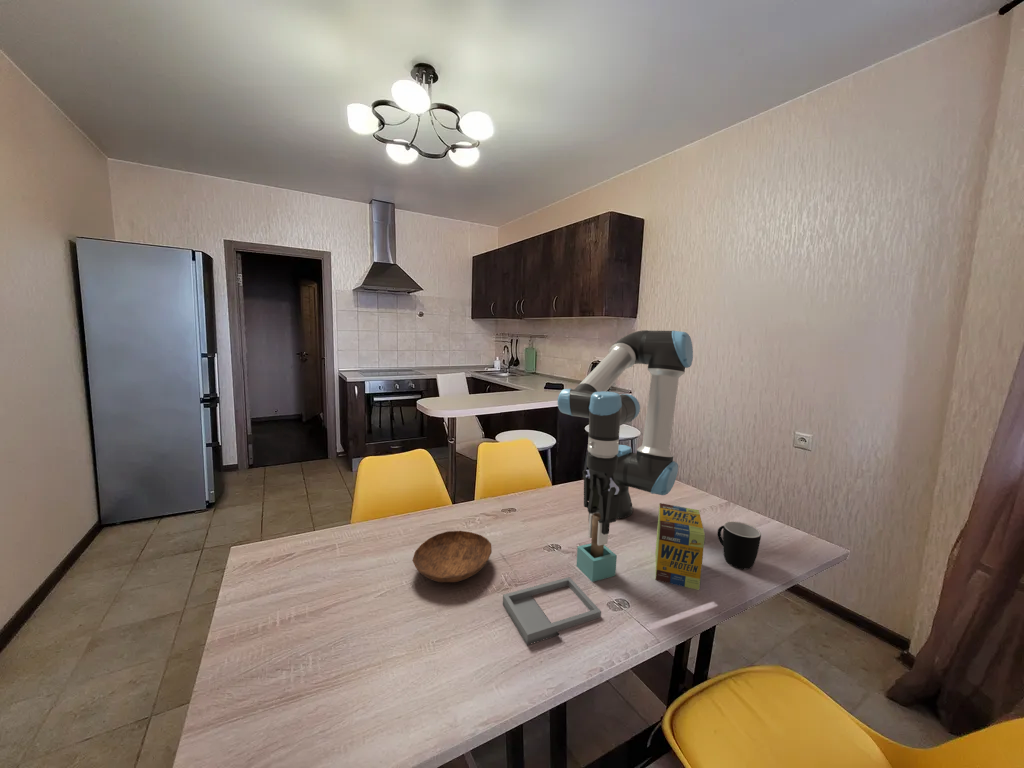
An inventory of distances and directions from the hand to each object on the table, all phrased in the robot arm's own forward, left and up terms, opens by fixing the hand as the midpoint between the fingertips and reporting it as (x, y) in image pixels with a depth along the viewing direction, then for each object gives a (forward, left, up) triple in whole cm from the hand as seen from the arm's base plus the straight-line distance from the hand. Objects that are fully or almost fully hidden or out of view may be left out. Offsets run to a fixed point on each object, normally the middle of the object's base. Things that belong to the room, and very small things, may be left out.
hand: (597, 540), depth 102 cm
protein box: (+7, +21, -10) cm, 24 cm away
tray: (+8, -18, -10) cm, 22 cm away
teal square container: (0, 0, -10) cm, 10 cm away
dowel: (0, 0, -7) cm, 7 cm away
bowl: (-16, -34, -10) cm, 39 cm away
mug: (+9, +41, -10) cm, 43 cm away
